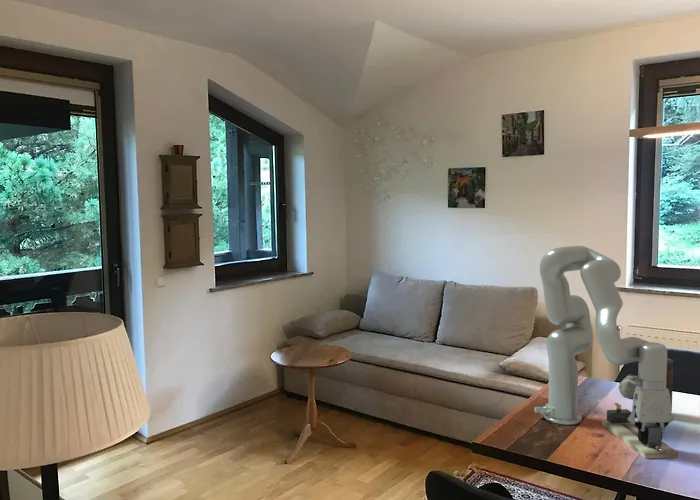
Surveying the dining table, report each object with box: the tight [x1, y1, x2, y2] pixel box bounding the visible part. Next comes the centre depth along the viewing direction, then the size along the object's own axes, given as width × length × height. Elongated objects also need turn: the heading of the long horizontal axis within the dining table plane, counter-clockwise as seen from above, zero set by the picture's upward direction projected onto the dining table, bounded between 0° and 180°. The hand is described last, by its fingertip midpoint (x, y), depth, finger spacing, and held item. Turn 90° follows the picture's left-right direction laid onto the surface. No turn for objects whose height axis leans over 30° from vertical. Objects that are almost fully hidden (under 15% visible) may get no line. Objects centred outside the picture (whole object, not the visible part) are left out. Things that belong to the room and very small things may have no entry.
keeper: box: [606, 402, 632, 423], centre depth 193 cm, size 4×7×6 cm, turn 93°
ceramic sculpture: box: [618, 373, 638, 399], centre depth 222 cm, size 11×9×15 cm
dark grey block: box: [644, 423, 665, 453], centre depth 172 cm, size 9×4×6 cm, turn 3°
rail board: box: [601, 418, 679, 459], centre depth 182 cm, size 26×10×2 cm, turn 3°
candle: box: [666, 358, 674, 415], centre depth 201 cm, size 8×7×20 cm
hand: (649, 441), depth 175 cm, fingers closed on dark grey block, 4 cm apart
